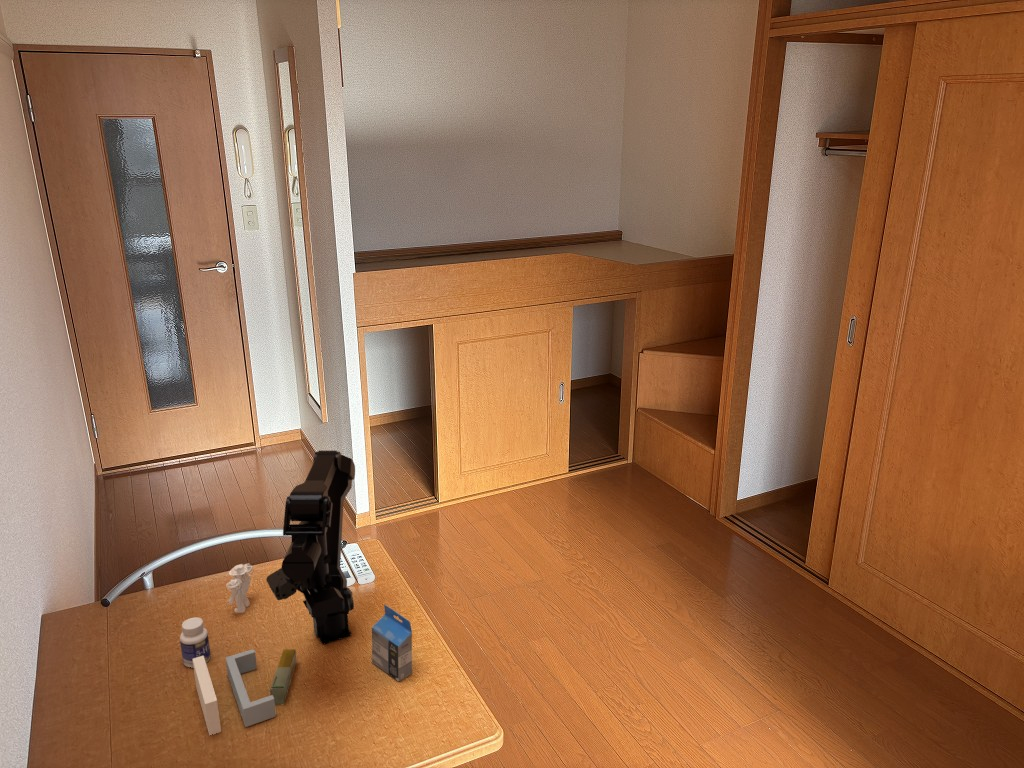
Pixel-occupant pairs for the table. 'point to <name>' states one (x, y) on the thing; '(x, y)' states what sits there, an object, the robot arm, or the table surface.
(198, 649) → the pill bottle
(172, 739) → the table surface
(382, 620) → the label tape box
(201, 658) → the wall
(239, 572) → the flower shoulder figurine
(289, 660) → the medication box
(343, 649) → the table surface
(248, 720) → the cradle
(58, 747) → the table surface
